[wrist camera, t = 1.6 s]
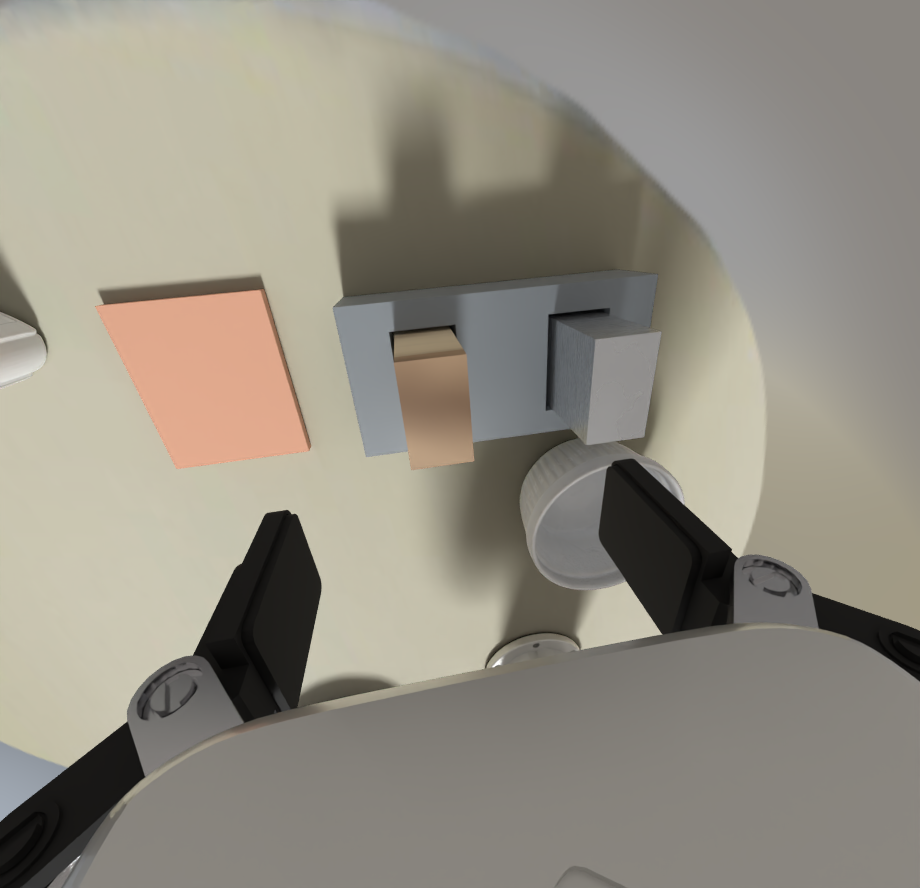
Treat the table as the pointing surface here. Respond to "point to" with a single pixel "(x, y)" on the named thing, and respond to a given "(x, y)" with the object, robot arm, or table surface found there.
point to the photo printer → (19, 351)
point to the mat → (210, 375)
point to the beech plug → (434, 396)
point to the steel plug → (600, 374)
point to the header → (478, 346)
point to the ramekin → (576, 511)
